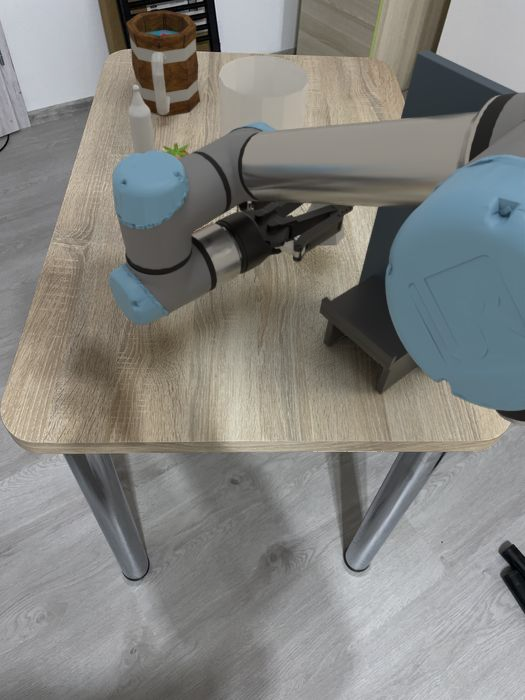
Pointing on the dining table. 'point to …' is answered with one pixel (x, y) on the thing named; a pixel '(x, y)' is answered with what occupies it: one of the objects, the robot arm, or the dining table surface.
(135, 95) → the candle
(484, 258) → the robot arm
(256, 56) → the container
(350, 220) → the dining table surface
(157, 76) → the mug
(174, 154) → the fruit
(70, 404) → the dining table surface
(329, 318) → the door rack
